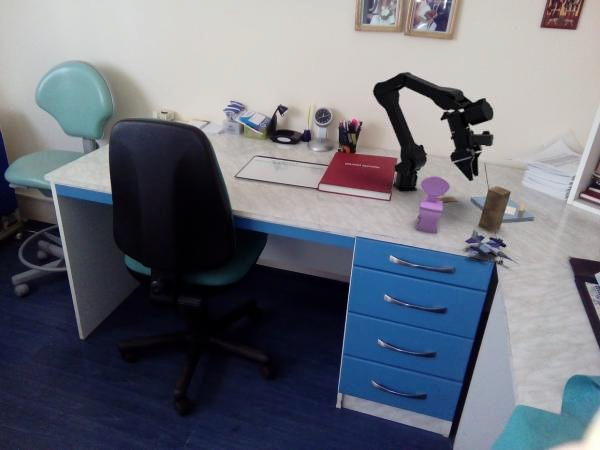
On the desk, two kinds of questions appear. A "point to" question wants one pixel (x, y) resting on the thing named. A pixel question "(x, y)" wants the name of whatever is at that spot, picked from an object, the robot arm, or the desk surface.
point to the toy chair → (431, 203)
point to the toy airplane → (487, 246)
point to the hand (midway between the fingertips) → (474, 178)
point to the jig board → (507, 210)
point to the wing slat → (447, 199)
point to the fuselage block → (494, 208)
